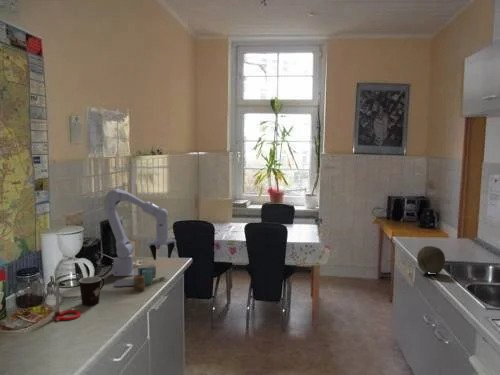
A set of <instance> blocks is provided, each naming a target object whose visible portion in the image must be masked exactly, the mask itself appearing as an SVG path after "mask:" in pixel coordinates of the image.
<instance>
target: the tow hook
mask: <svg viewBox="0 0 500 375" xmlns="http://www.w3.org/2000/svg"><path fill="white" fill-rule="evenodd" d="M67 314H68V315H69V314H73V316H63V315H67ZM74 314H75V315H74ZM53 316H54V319H55V321H56V322H60V321H71V320H76V319H78V318H80V317H81V316H82V312H81V311H79V310H74V309H73V310H72V309H71V310H63V311H60V284H57V285H56V290H55V304H54V313H53Z"/></svg>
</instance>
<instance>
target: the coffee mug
mask: <svg viewBox="0 0 500 375" xmlns="http://www.w3.org/2000/svg"><path fill="white" fill-rule="evenodd" d="M78 285H79V290H80V297H81V298H80V299H81V304H82V306H84V307H92V306H96V305H99V303H100V296H101V295H100V294H101V290H102V289H103V287H104V286H105V279H104V278H101V277H100V276H86V277H82V278H80V279H79V280H78Z"/></svg>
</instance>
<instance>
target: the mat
mask: <svg viewBox="0 0 500 375" xmlns="http://www.w3.org/2000/svg"><path fill="white" fill-rule="evenodd" d="M131 287H133V288H134V278H127V279H126V278H123V279H116V280H115V281H114V284H113V287H112V288H131Z"/></svg>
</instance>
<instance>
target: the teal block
mask: <svg viewBox="0 0 500 375" xmlns="http://www.w3.org/2000/svg"><path fill="white" fill-rule="evenodd" d="M142 275H145V285H153V277H152V269H148V270H143V271H142Z"/></svg>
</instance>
